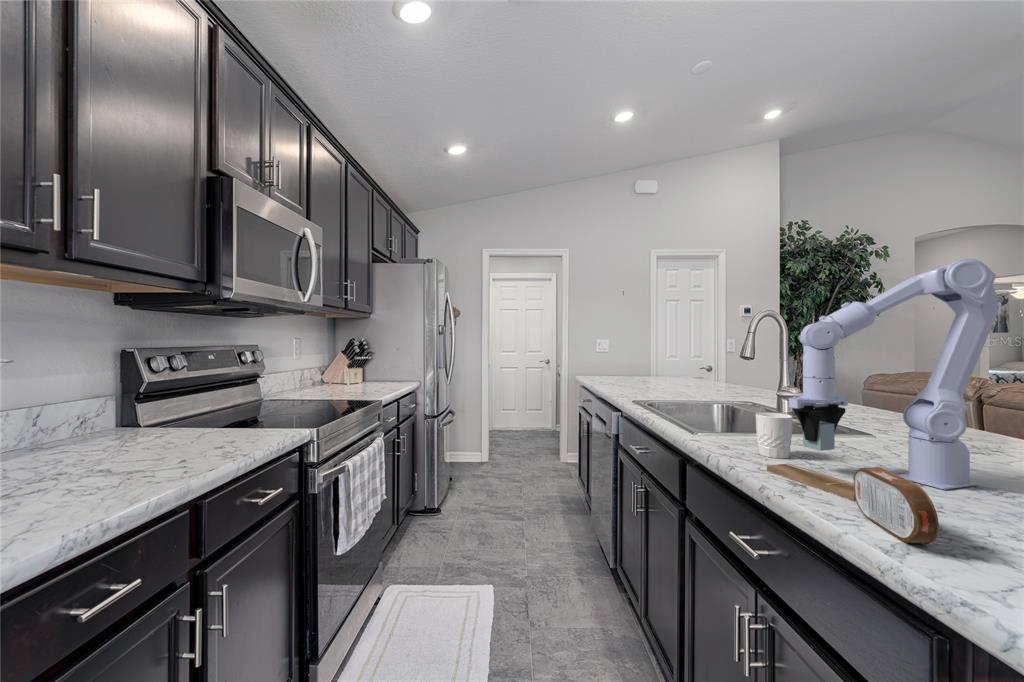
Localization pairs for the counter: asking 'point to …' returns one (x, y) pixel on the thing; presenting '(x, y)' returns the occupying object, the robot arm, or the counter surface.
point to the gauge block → (822, 438)
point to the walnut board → (815, 479)
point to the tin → (896, 505)
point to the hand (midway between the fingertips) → (818, 439)
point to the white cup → (774, 434)
